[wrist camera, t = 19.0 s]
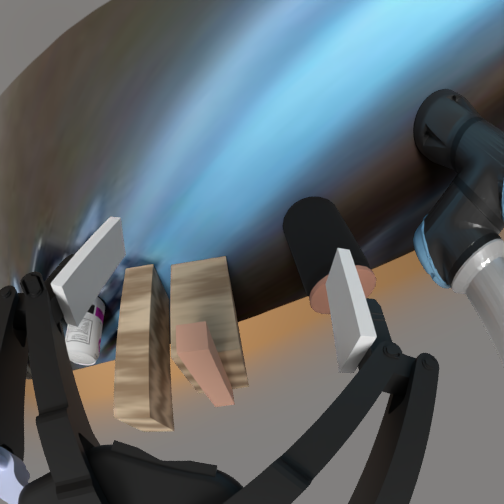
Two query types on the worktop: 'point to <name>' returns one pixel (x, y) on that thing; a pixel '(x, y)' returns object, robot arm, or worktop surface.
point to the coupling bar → (204, 362)
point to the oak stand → (157, 337)
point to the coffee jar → (321, 247)
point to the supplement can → (86, 335)
